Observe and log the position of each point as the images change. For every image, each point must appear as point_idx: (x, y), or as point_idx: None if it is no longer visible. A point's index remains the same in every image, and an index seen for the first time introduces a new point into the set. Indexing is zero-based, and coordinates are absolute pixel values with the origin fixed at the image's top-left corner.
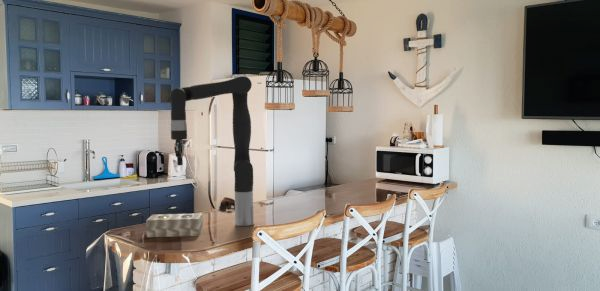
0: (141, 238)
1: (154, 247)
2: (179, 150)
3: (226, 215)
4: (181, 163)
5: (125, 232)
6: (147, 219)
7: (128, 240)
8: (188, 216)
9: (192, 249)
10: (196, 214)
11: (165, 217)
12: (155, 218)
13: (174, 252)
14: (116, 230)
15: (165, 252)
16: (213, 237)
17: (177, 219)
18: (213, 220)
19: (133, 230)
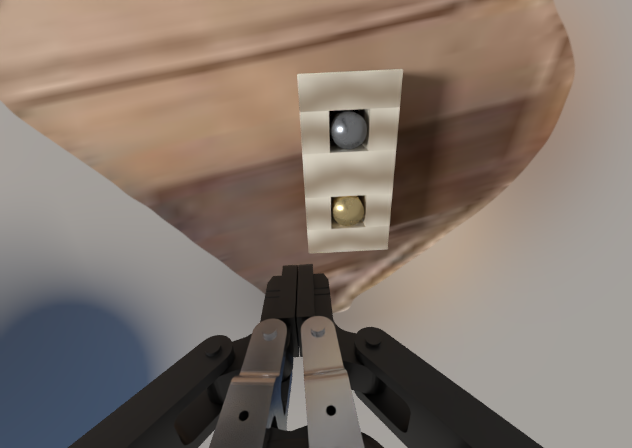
0: None
1: (481, 179)
2: (506, 425)
3: (48, 6)
4: (312, 275)
5: None
6: (377, 248)
7: (397, 256)
8: (348, 124)
9: (542, 60)
10: (319, 96)
11: (354, 204)
12: (367, 230)
13: (551, 111)
14: None
15: (540, 137)
16: (417, 7)
17: (395, 155)
18: (156, 57)
19: None
